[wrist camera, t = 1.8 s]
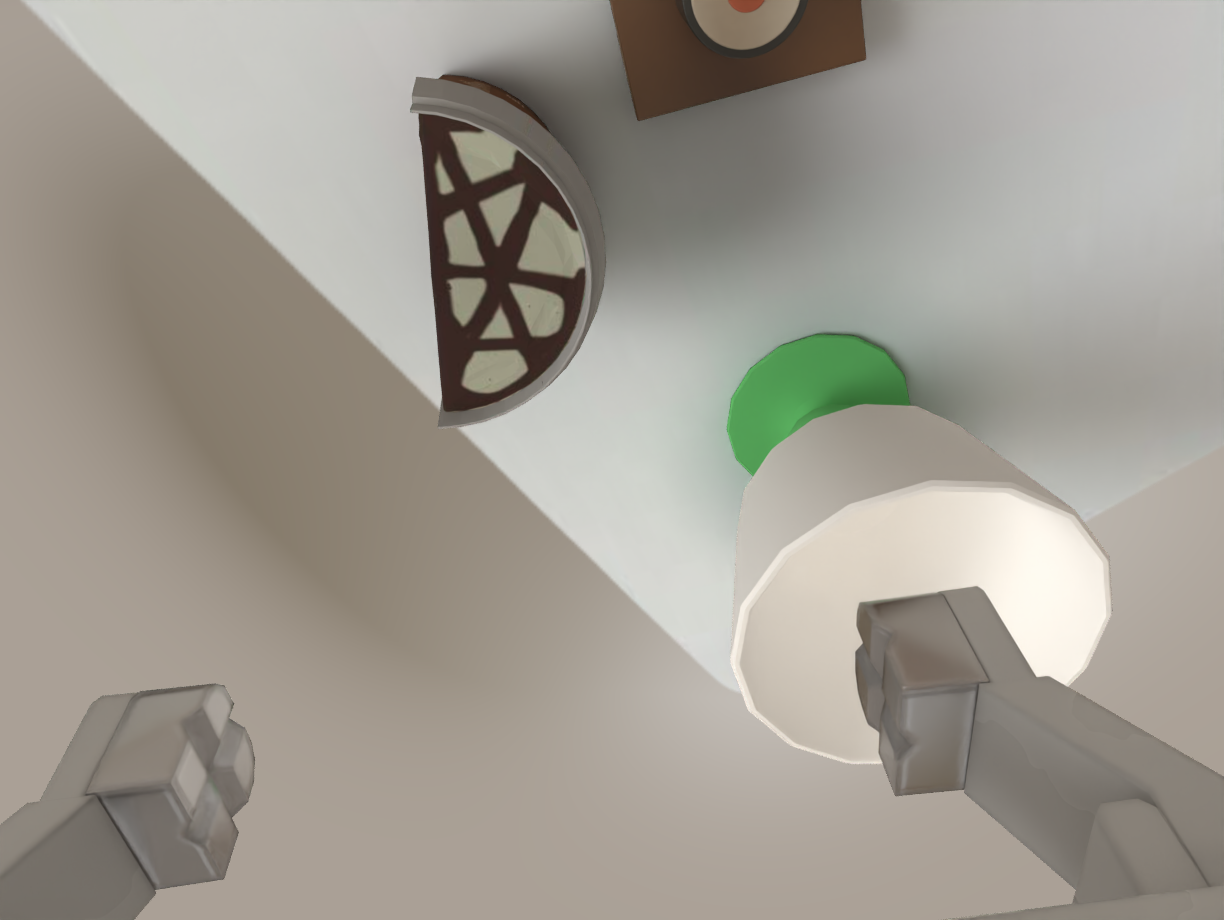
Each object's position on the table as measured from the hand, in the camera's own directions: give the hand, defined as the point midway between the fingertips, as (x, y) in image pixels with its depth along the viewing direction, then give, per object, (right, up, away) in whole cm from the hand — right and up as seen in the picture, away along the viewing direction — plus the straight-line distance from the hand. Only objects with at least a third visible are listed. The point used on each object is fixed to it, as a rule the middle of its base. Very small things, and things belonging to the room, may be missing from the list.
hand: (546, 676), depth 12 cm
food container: (-3, +14, +28) cm, 32 cm away
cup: (+11, +5, +35) cm, 37 cm away
